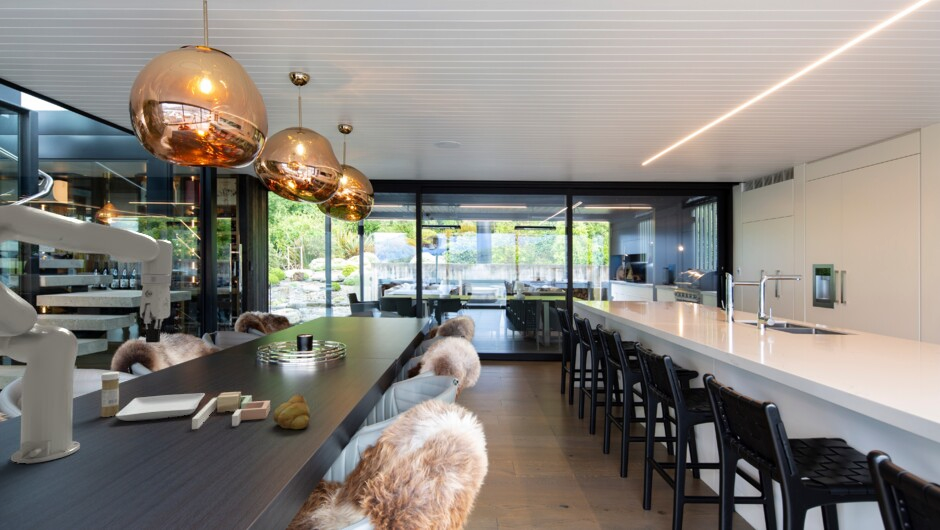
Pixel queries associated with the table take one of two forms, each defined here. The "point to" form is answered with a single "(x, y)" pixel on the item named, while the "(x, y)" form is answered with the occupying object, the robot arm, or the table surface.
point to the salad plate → (160, 407)
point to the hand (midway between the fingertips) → (152, 342)
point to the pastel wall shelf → (245, 413)
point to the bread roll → (293, 413)
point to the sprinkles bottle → (110, 393)
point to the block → (228, 401)
